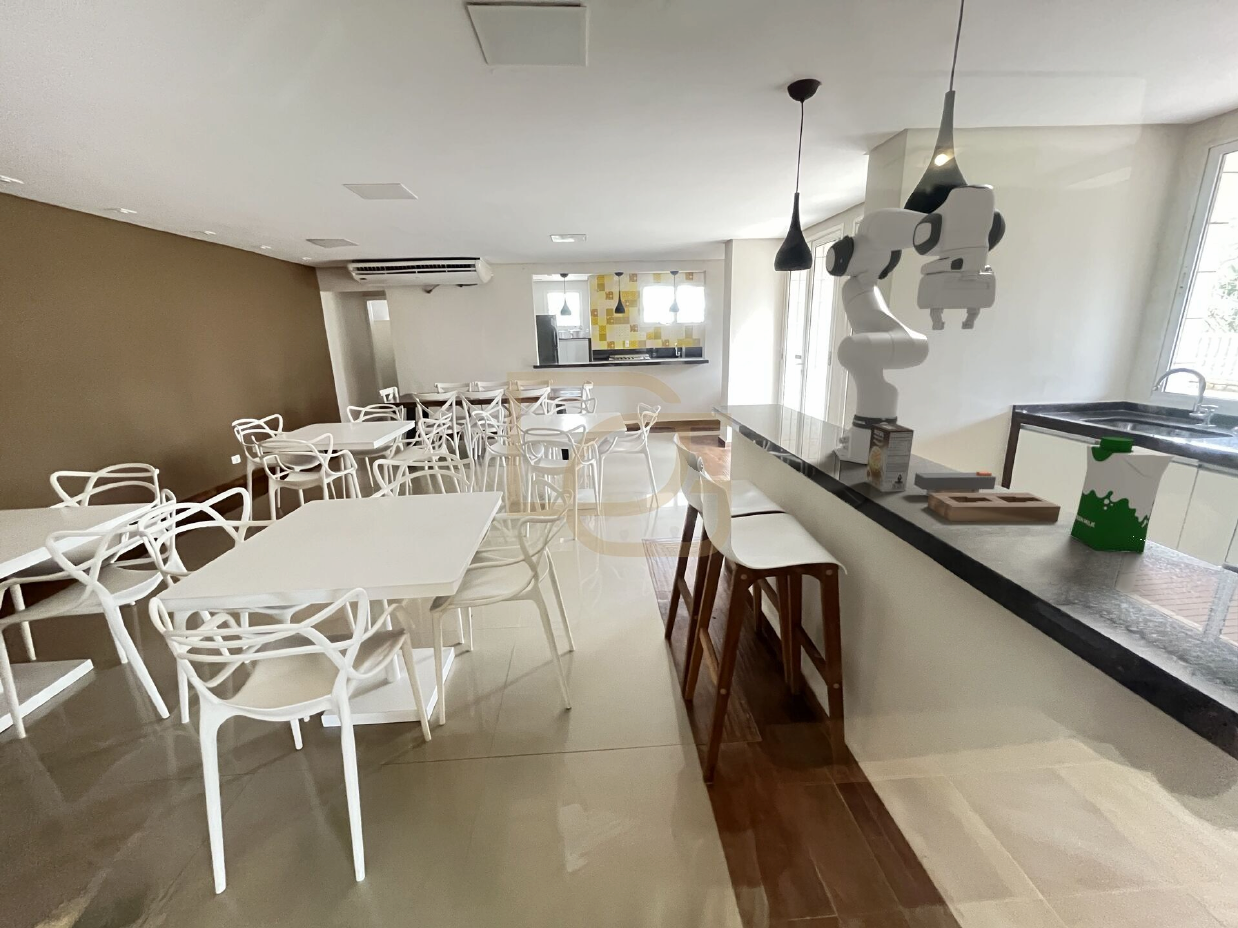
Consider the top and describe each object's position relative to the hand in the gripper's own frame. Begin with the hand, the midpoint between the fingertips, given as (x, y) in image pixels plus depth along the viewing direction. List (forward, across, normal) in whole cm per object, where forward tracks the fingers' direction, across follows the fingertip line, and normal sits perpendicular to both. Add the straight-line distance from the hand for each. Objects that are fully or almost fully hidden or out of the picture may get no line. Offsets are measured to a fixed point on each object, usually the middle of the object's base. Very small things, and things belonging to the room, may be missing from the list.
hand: (952, 329), depth 109 cm
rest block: (+39, -2, +4) cm, 40 cm away
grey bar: (+39, -2, +4) cm, 39 cm away
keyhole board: (+39, +2, +16) cm, 42 cm away
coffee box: (+40, +6, -8) cm, 41 cm away
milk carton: (+40, -1, +34) cm, 52 cm away
